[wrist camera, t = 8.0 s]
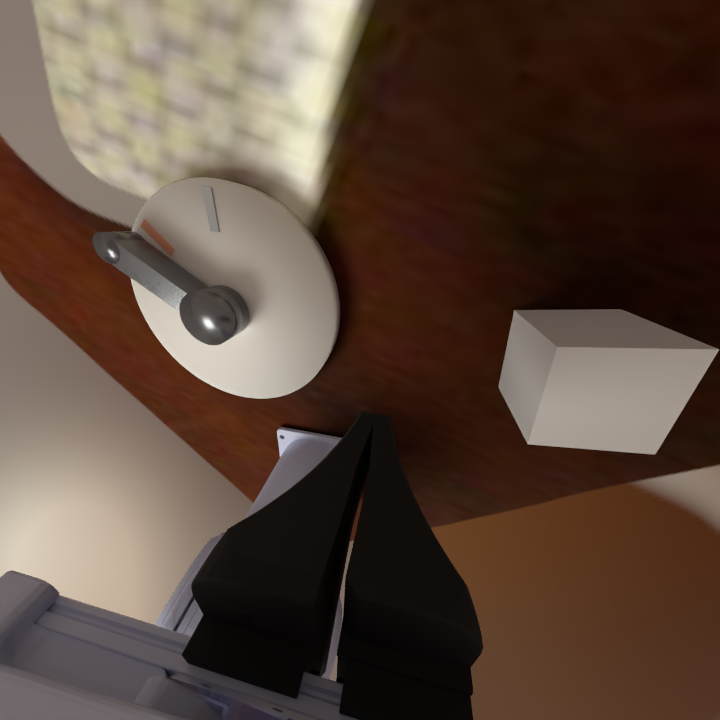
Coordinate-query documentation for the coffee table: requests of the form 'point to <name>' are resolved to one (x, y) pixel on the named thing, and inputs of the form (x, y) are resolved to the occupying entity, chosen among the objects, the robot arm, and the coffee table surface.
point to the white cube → (598, 378)
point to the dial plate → (243, 285)
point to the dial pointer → (176, 287)
